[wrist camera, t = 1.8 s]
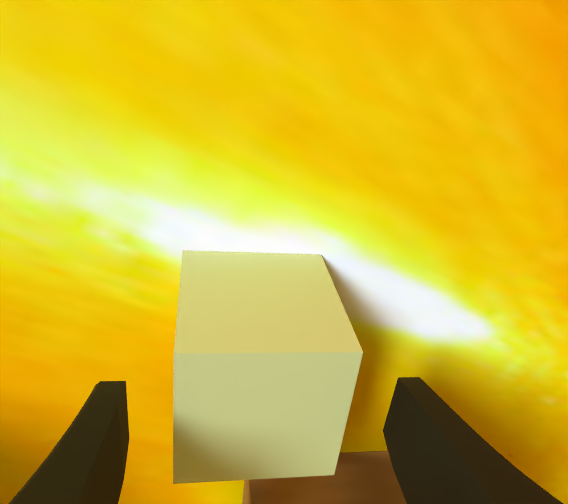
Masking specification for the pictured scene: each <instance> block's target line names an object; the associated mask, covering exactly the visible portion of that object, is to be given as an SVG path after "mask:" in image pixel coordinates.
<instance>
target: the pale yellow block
mask: <svg viewBox="0 0 568 504" xmlns="http://www.w3.org/2000/svg"><path fill="white" fill-rule="evenodd" d="M362 355H363V351H362V348H361V346H360V344H359V341H358V339H357V337H356V334H355V332H354V330H353V327H352V325H351V323H350V320H349V318H348V316H347V313H346V311H345V309H344V307H343V304H342V302H341V300H340V297H339V295H338V293H337V290H336V288H335V286H334V283H333V281H332V279H331V276H330V274H329V272H328V269H327V267H326V265H325V262H324V260H323V258H322V255H319V254H286V253H252V252H218V251H185V250H183V255H182V266H181V278H180V289H179V300H178V312H177V323H176V334H175V345H174V436H173V484H176V483H195V482H214V481H232V480H251V479H270V478H288V477H307V476H326V475H334V474H335V469H336V465H337V461H338V457H339V452H340V448H341V444H342V440H343V435H344V431H345V427H346V423H347V419H348V414H349V410H350V406H351V402H352V397H353V393H354V389H355V385H356V381H357V376H358V372H359V368H360V364H361V359H362Z"/></svg>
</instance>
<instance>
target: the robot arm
mask: <svg viewBox="0 0 568 504" xmlns="http://www.w3.org/2000/svg"><path fill="white" fill-rule="evenodd" d="M383 432H384V436H385V440H386V444H387V449H388V452H389V456H390V460H391V463H392V467H393V470H394V472H395V475H396V477H397V480H398V483H399V485H400V488H401V490H402V493H403V495H404V498H405V500H406V503H407V504H563V503H562V502H560V501H559V500H557V499H556V498H555V497H553V496H552V495H551V494H549V493H548V492H547V491H545V490H544V489H543V488H541V487H540V486H539V485H537V484H536V483H535V482H533V481H532V480H531V479H529V478H528V477H527V476H526V475H524V474H523V473H522V472H521V471H519V470H518V469H517V468H516V467H515V466H513V465H512V464H511V463H510V462H509V461H508V460H506V459H505V458H504V457H503V456H502V455H501V454H499V453H498V452H497V451H496V450H495V449H494V448H493V447H491V446H490V445H489V444H488V443H487V442H486V441H485V440H484V439H483V438H482V437H480V436H479V435H478V434H477V433H476V432H475V431H474V430H473V429H472V428H471V427H470V426H469V425H468V424H467V423H466V422H465V421H463V420H462V419H461V418H460V417H459V416H458V415H457V414H456V413H455V412H454V411H453V410H452V409H451V408H450V407H449V406H448V405H447V404H446V403H445V402H444V401H443V400H442V399H441V398H440V397H439V396H438V395H437V394H436V393H435V392H434V391H433V390H432V389H431V388H430V387H429V386H428V385H427V384H426V383H425V382H424V381H423V380H421V379H420V378H419V377H402V378H398V380H397V384H396V387H395V391H394V394H393V397H392V401H391V404H390V408H389V411H388V415H387V418H386V422H385V425H384V429H383ZM128 444H129V428H128V411H127V394H126V381H100V382H99V383H98V384H96V385H95V387H94V389H93V391H92V393H91V394H90V396H89V398H88V399H87V401H86V402H85V404H84V406H83V407H82V409H81V410H80V412H79V413H78V415H77V416H76V418H75V419H74V421H73V422H72V424H71V425H70V427H69V428H68V429H67V431H66V432H65V434H64V435H63V436H62V438H61V439H60V440H59V442H58V443H57V445H56V446H55V447H54V449H53V450H52V451H51V453H50V454H49V455H48V457H47V458H46V459H45V461H44V462H43V463H42V464H41V465H40V467H39V468H38V469H37V470H36V472H35V473H34V474H33V475H32V477H31V478H30V479H29V480H28V482H27V483H26V484H25V485H24V487H23V488H22V489H21V490H20V491H19V492H18V494H17V495H16V496H15V497H14V498H13V499H12V500H11V502H10V503H9V504H118V501H119V497H120V493H121V489H122V484H123V480H124V473H125V466H126V459H127V451H128Z"/></svg>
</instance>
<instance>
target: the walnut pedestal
mask: <svg viewBox="0 0 568 504" xmlns="http://www.w3.org/2000/svg"><path fill="white" fill-rule="evenodd" d="M242 504H407V503H406V500H405V498H404V495H403V493H402V490H401V488H400V485H399V483H398V480H397V477H396V475H395V472H394V470H393V467H392V463H391V460H390V456H389V452H388V451H371V452H350V453H339V457H338V461H337V465H336V469H335V474H334V475H326V476H307V477H288V478H270V479H251V480H245V483H244V493H243V503H242Z"/></svg>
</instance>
